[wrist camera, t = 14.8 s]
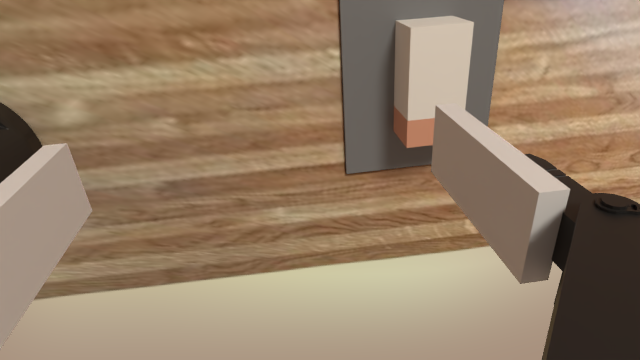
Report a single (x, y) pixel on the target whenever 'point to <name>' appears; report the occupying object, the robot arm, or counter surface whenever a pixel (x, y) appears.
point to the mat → (379, 72)
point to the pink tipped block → (429, 73)
